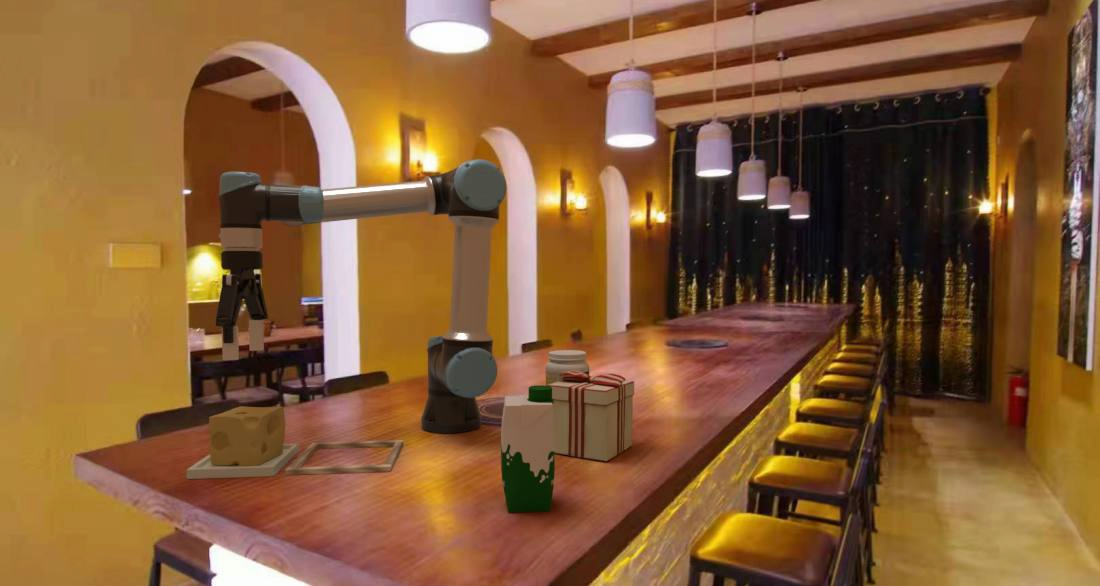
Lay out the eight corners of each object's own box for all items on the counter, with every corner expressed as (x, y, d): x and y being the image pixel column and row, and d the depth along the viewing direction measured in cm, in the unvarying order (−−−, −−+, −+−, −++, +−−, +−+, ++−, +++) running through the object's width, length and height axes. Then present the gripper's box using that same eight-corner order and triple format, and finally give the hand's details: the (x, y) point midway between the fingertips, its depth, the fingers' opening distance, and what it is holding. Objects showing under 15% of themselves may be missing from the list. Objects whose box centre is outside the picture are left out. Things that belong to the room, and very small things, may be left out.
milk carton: (556, 513, 103) (556, 392, 102) (501, 515, 102) (501, 393, 101) (552, 493, 111) (552, 382, 110) (501, 495, 111) (500, 383, 110)
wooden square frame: (403, 444, 142) (403, 440, 142) (390, 471, 123) (390, 466, 123) (312, 446, 140) (312, 442, 140) (285, 475, 121) (285, 469, 121)
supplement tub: (590, 418, 166) (590, 355, 166) (544, 418, 167) (544, 355, 166) (588, 408, 179) (588, 349, 178) (545, 408, 179) (545, 349, 178)
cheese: (255, 468, 122) (254, 417, 122) (206, 465, 124) (205, 415, 124) (286, 452, 133) (285, 406, 132) (240, 450, 134) (239, 404, 134)
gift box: (639, 441, 145) (639, 367, 144) (612, 464, 128) (613, 381, 127) (571, 433, 152) (571, 362, 151) (538, 454, 135) (538, 374, 134)
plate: (298, 451, 137) (298, 443, 137) (273, 476, 121) (273, 467, 121) (222, 454, 135) (222, 445, 135) (186, 479, 119) (186, 469, 119)
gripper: (246, 251, 138) (248, 347, 139) (193, 248, 113) (196, 364, 114) (281, 251, 139) (283, 346, 140) (236, 248, 114) (239, 364, 115)
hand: (244, 355), depth 127 cm, fingers open, 13 cm apart
